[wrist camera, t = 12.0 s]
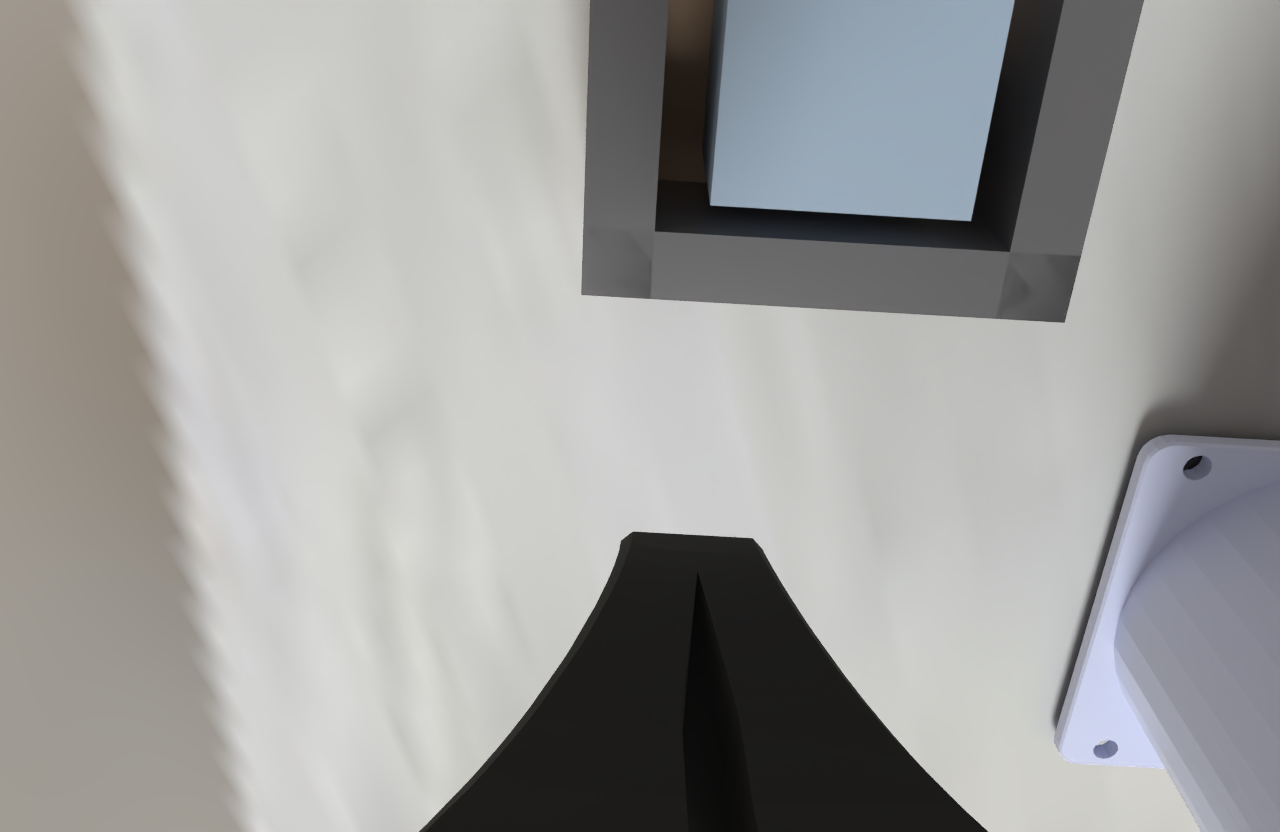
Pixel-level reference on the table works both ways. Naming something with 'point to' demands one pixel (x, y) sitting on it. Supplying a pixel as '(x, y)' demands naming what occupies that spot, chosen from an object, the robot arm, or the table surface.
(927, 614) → the table surface
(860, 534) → the table surface
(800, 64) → the blue-grey long block
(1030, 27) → the bench frame
